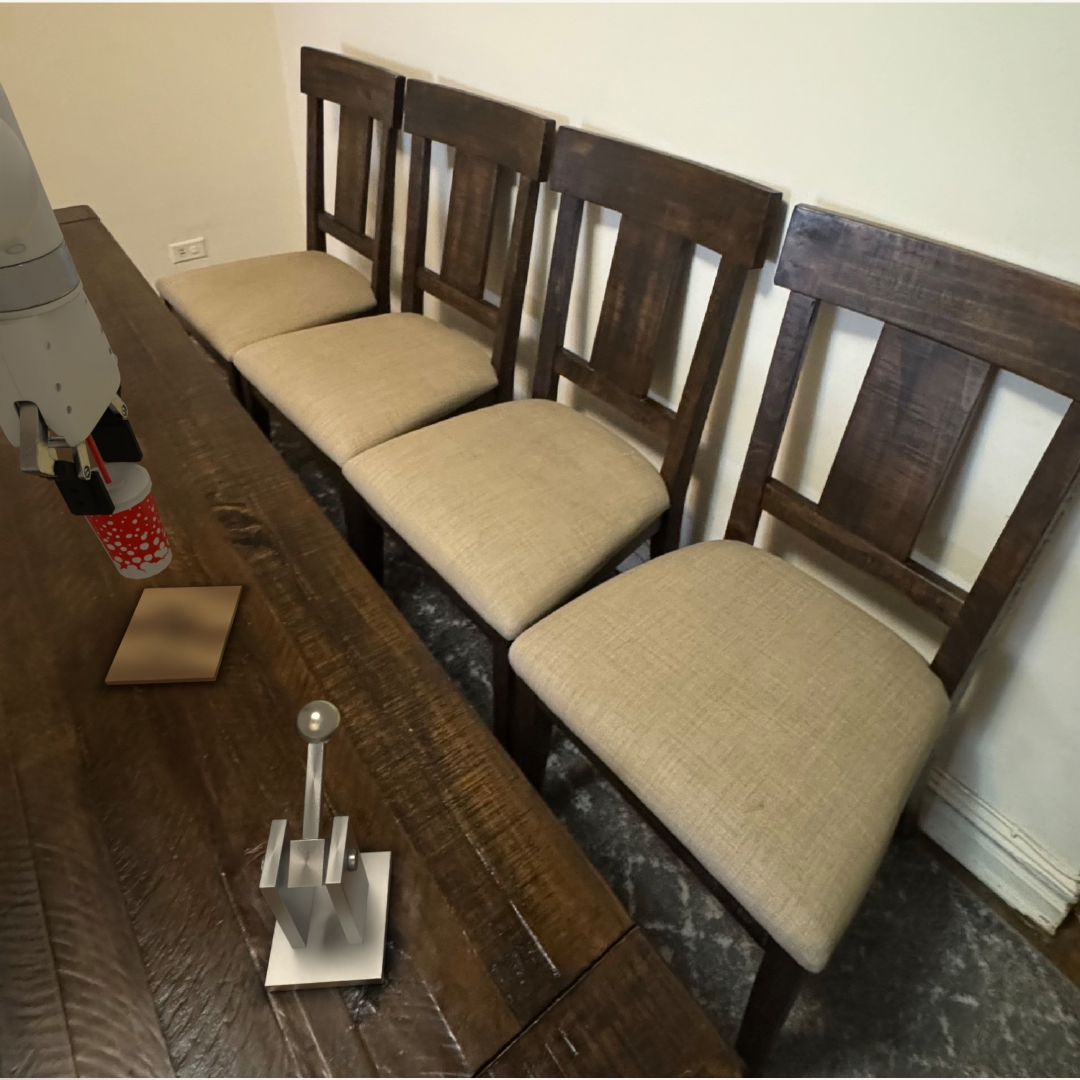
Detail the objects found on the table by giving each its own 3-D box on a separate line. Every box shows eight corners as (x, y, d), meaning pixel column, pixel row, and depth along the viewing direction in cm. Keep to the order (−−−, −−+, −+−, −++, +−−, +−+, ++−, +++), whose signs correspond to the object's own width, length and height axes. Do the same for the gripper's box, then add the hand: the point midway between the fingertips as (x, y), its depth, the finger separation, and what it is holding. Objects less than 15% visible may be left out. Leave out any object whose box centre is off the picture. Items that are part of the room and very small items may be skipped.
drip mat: (215, 681, 71) (213, 677, 70) (106, 685, 70) (104, 681, 70) (243, 589, 79) (241, 585, 79) (146, 592, 79) (144, 588, 78)
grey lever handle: (302, 704, 54) (291, 696, 51) (346, 702, 54) (338, 694, 51) (290, 886, 49) (277, 888, 46) (338, 883, 50) (329, 885, 47)
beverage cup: (193, 561, 68) (142, 435, 58) (126, 596, 64) (61, 467, 55) (162, 529, 71) (108, 403, 61) (96, 560, 67) (29, 433, 58)
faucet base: (289, 863, 58) (255, 788, 50) (392, 857, 59) (375, 782, 51) (267, 991, 52) (224, 929, 44) (383, 983, 52) (361, 920, 44)
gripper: (11, 225, 55) (100, 427, 68) (-123, 337, 43) (16, 559, 55) (115, 226, 56) (185, 425, 68) (13, 337, 43) (121, 557, 56)
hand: (109, 484), depth 61 cm, fingers closed on beverage cup, 6 cm apart
